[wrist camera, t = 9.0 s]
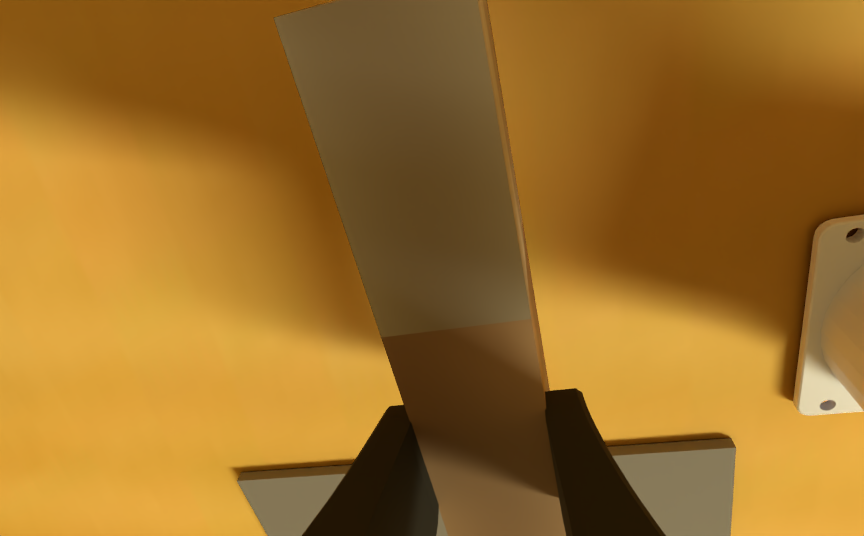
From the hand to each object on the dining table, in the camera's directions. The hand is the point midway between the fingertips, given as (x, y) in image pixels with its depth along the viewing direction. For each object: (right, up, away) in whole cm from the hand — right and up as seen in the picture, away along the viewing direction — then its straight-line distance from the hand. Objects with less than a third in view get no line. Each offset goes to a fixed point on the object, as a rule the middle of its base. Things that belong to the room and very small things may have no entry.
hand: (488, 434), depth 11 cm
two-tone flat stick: (0, +2, +3) cm, 3 cm away
